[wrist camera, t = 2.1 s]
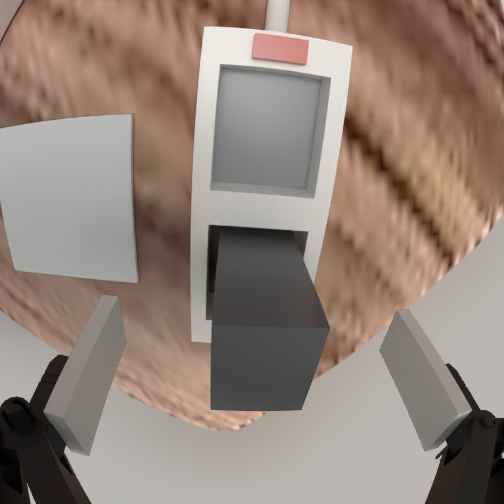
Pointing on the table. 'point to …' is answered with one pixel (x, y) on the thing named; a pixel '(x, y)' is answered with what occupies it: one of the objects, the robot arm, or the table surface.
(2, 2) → the medicine bottle
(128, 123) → the mat
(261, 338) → the block
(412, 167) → the table surface
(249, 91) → the power strip
